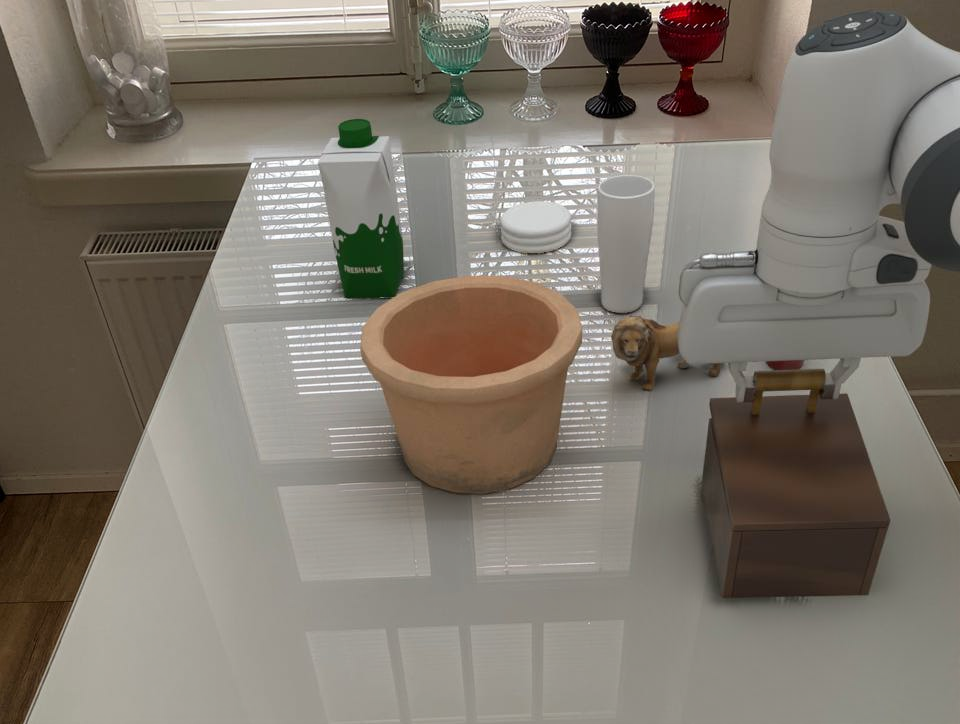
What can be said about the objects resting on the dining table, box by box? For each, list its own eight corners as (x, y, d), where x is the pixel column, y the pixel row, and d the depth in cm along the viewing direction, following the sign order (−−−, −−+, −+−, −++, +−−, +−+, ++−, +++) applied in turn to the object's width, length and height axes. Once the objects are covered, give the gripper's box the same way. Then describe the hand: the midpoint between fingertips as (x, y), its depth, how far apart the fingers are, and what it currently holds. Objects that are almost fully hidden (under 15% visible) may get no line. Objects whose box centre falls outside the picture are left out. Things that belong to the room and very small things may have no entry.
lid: (709, 404, 93) (714, 358, 90) (845, 400, 93) (857, 352, 89) (732, 531, 82) (740, 484, 78) (888, 527, 81) (904, 479, 77)
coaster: (549, 260, 137) (549, 235, 134) (488, 247, 141) (486, 223, 138) (583, 231, 142) (583, 206, 140) (523, 219, 146) (522, 195, 144)
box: (700, 491, 100) (709, 417, 94) (828, 488, 99) (845, 413, 93) (721, 607, 89) (732, 532, 82) (865, 604, 88) (888, 528, 81)
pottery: (367, 411, 114) (346, 294, 104) (552, 378, 116) (550, 260, 106) (395, 528, 99) (374, 405, 89) (606, 488, 101) (610, 364, 91)
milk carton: (411, 270, 138) (392, 116, 123) (400, 302, 131) (379, 144, 117) (350, 271, 139) (324, 118, 124) (336, 303, 132) (307, 146, 118)
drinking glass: (643, 320, 124) (650, 199, 113) (590, 315, 126) (591, 196, 115) (652, 294, 128) (659, 175, 117) (600, 290, 130) (603, 172, 119)
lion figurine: (622, 406, 111) (625, 333, 105) (600, 383, 115) (602, 312, 108) (735, 371, 115) (745, 299, 108) (710, 350, 118) (718, 279, 111)
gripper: (685, 273, 78) (673, 421, 88) (953, 261, 76) (909, 413, 87) (678, 237, 82) (666, 382, 92) (931, 225, 81) (892, 374, 91)
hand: (786, 397), depth 89 cm, fingers closed on lid, 6 cm apart
